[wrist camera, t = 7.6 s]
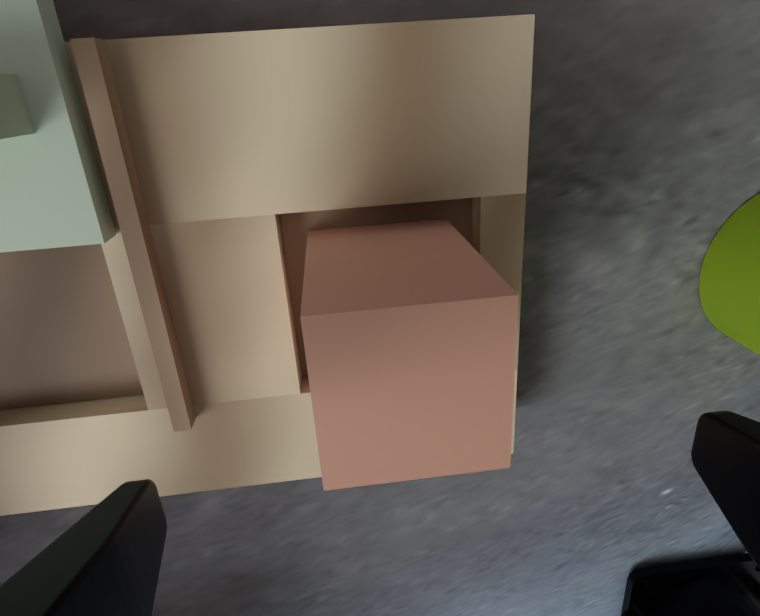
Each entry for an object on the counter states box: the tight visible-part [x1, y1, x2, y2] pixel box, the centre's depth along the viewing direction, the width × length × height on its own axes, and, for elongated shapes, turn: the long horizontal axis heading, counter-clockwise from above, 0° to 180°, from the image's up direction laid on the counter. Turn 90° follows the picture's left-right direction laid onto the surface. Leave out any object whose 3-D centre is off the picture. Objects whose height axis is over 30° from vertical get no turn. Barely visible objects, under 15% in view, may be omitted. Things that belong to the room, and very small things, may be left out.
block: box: [300, 219, 518, 491], centre depth 13 cm, size 4×4×6 cm
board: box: [0, 14, 535, 516], centre depth 15 cm, size 18×13×3 cm
